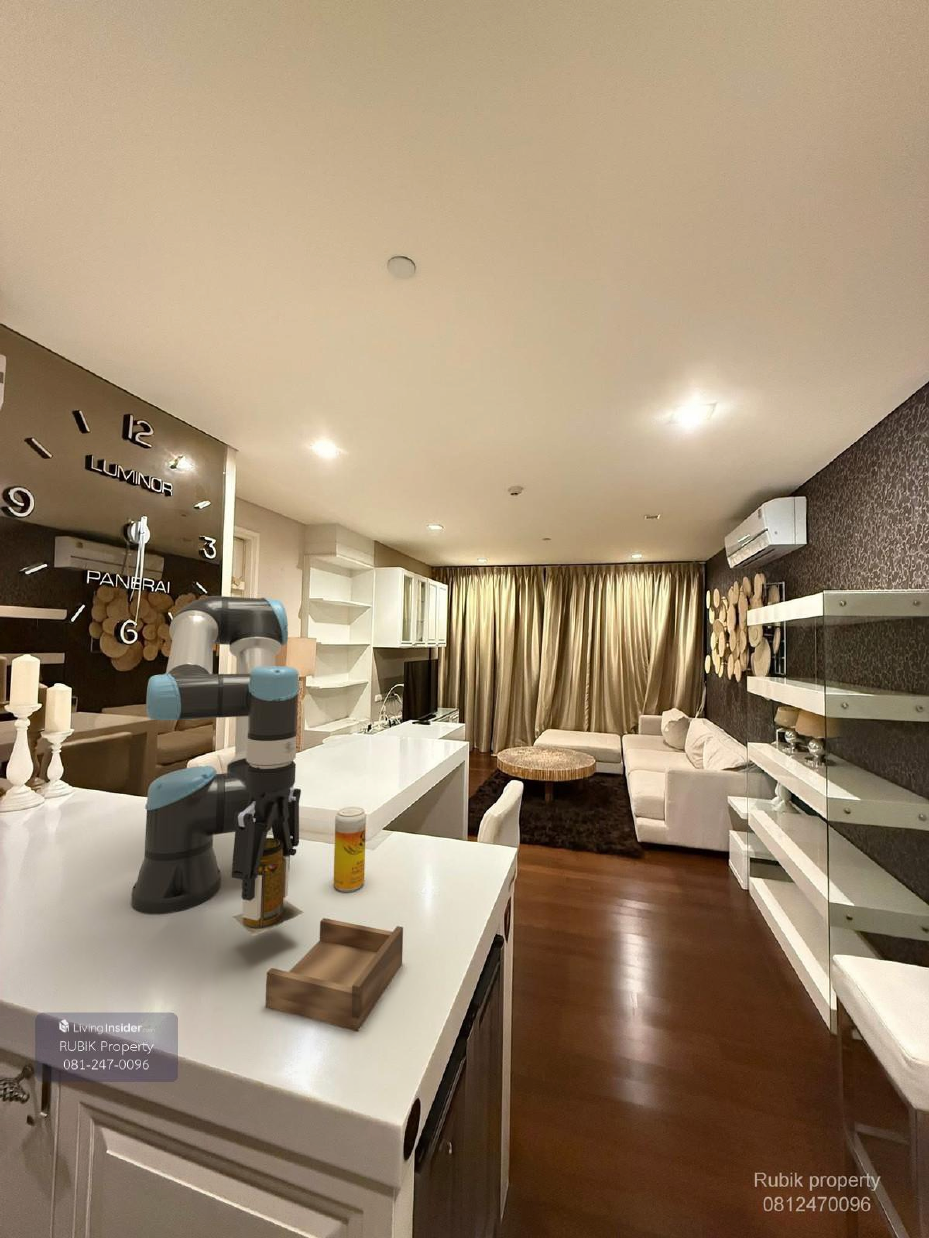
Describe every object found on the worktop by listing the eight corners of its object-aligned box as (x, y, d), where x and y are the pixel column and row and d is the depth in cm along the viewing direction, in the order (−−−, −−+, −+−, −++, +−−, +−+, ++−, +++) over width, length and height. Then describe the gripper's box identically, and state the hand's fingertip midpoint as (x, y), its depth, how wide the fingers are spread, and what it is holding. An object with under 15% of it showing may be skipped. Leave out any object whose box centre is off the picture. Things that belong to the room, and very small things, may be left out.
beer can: (356, 895, 97) (358, 817, 98) (327, 891, 98) (330, 814, 99) (368, 880, 103) (370, 807, 104) (341, 877, 104) (343, 804, 105)
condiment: (232, 917, 80) (235, 843, 80) (281, 897, 86) (284, 828, 87) (254, 937, 75) (257, 857, 75) (304, 914, 82) (307, 840, 82)
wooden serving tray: (265, 1006, 67) (266, 964, 68) (322, 946, 81) (323, 911, 81) (358, 1031, 63) (359, 986, 64) (402, 963, 77) (403, 927, 77)
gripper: (249, 781, 70) (243, 946, 70) (324, 751, 89) (319, 881, 88) (206, 775, 73) (200, 935, 72) (288, 746, 91) (283, 874, 90)
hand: (265, 905), depth 80 cm, fingers closed on condiment, 6 cm apart
